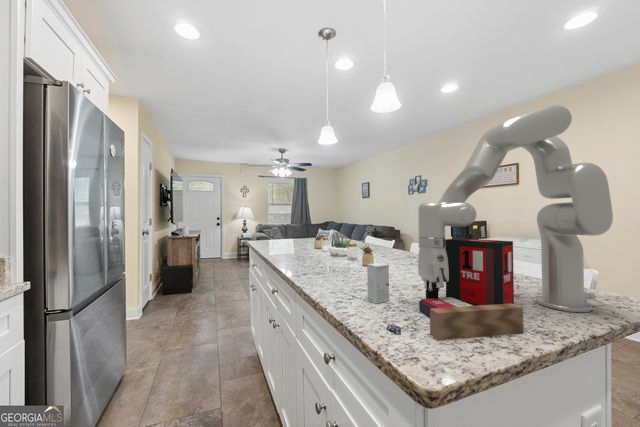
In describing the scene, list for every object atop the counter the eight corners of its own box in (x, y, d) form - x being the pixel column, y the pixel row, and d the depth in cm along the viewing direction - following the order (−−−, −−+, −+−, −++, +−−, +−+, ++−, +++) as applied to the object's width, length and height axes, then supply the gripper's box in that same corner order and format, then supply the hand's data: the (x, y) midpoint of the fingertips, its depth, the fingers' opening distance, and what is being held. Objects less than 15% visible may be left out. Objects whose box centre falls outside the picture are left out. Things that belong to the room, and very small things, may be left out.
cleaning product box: (446, 299, 88) (445, 239, 89) (458, 294, 94) (458, 238, 94) (502, 313, 75) (501, 243, 75) (513, 306, 80) (512, 241, 81)
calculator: (451, 295, 79) (491, 310, 65) (452, 310, 79) (492, 328, 64) (418, 297, 78) (450, 313, 63) (418, 312, 78) (451, 332, 63)
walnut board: (512, 327, 65) (511, 303, 65) (523, 332, 62) (522, 307, 62) (430, 334, 62) (429, 308, 62) (437, 340, 59) (437, 313, 59)
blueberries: (402, 326, 69) (401, 318, 69) (418, 337, 61) (417, 329, 61) (377, 328, 68) (377, 320, 68) (390, 339, 60) (390, 331, 60)
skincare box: (376, 304, 83) (376, 266, 83) (366, 300, 87) (366, 264, 87) (390, 300, 86) (389, 264, 87) (379, 297, 90) (379, 262, 90)
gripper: (458, 245, 74) (459, 311, 73) (430, 240, 88) (430, 295, 88) (433, 246, 73) (433, 312, 72) (408, 241, 88) (409, 296, 87)
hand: (432, 303), depth 80 cm, fingers closed
